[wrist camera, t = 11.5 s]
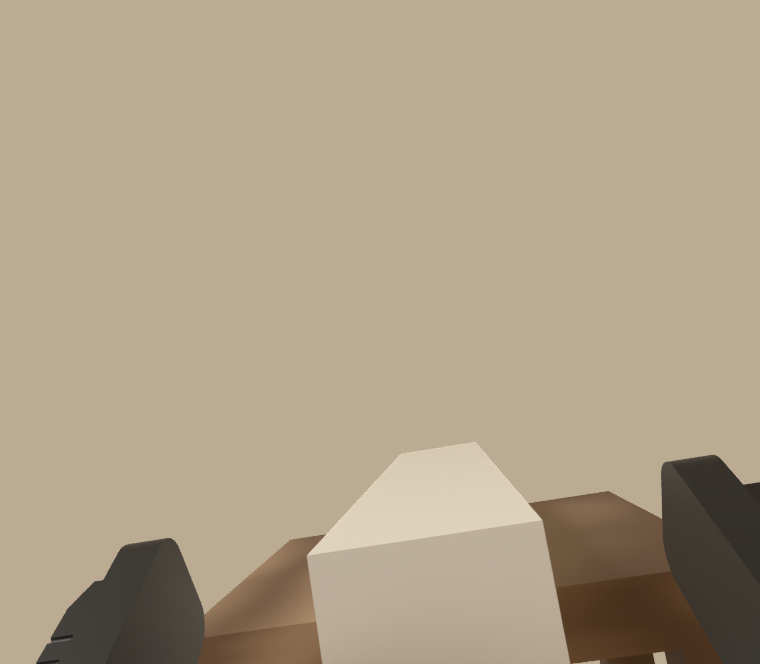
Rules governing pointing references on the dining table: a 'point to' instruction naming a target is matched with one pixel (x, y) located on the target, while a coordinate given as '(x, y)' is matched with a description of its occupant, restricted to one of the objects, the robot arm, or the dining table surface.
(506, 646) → the cutlery box
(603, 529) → the walnut shelf
